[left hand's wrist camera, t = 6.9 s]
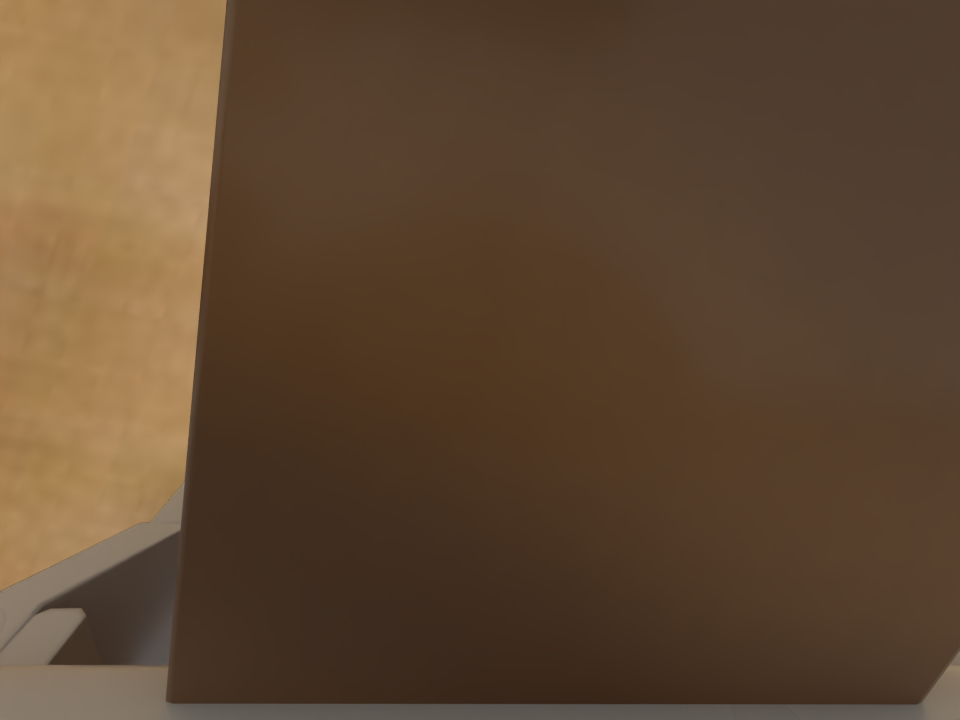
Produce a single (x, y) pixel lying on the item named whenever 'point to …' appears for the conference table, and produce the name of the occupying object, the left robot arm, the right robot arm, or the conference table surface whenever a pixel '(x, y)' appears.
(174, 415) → the conference table surface
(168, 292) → the conference table surface
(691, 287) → the box
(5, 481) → the conference table surface
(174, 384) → the conference table surface
